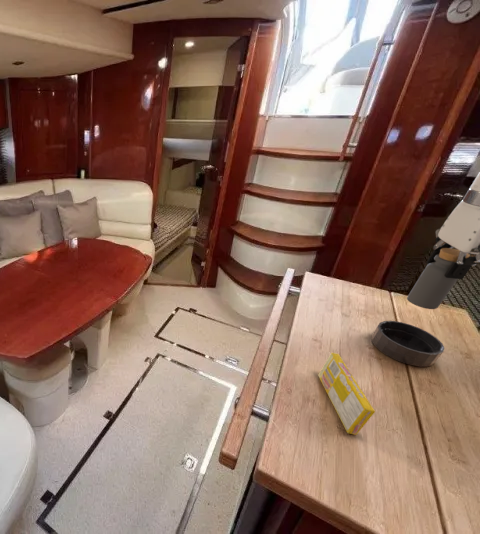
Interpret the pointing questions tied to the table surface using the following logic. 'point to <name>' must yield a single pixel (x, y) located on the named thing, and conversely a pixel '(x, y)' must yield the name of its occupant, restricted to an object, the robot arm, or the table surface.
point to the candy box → (345, 394)
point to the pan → (407, 343)
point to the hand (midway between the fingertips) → (443, 270)
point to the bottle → (434, 281)
